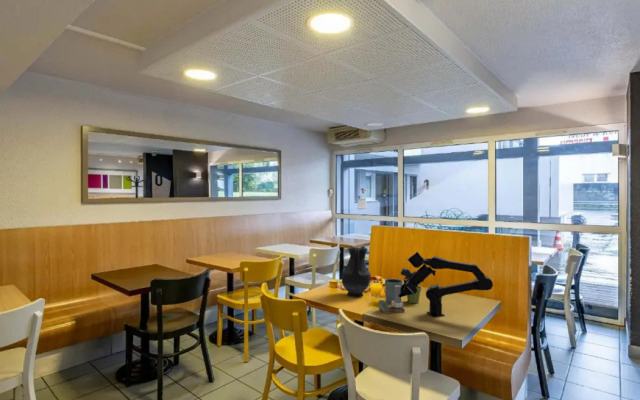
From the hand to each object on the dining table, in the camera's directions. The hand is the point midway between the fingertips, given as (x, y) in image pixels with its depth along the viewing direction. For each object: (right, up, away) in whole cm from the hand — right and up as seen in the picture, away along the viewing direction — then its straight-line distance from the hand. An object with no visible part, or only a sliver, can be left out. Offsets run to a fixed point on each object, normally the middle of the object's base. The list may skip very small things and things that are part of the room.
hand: (398, 294), depth 191 cm
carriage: (-1, -6, 0) cm, 6 cm away
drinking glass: (+1, -9, +18) cm, 20 cm away
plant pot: (+12, -9, +18) cm, 23 cm away
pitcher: (-20, -8, +28) cm, 35 cm away
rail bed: (-4, -9, -1) cm, 9 cm away
